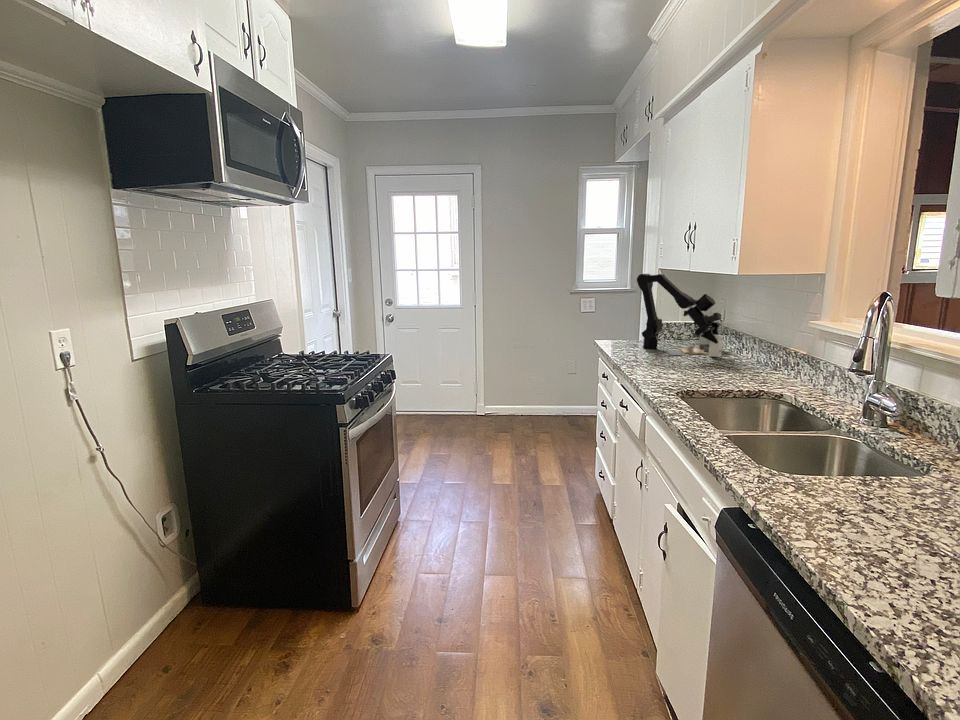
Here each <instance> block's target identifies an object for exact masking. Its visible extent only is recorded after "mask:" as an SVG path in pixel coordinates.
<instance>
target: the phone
mask: <svg viewBox="0 0 960 720" xmlns="http://www.w3.org/2000/svg"><path fill="white" fill-rule="evenodd" d="M665 352H666V354H667V355H668V356H669V357H670V356H671V357H683V353H682V352H681V350H669V349H667V350H665Z"/></svg>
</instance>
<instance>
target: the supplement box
mask: <svg viewBox="0 0 960 720" xmlns="http://www.w3.org/2000/svg"><path fill="white" fill-rule="evenodd" d="M721 331H722V325H720V326H719V328H718V333H719V335H721ZM702 333H703V332H702ZM702 333H701V334H700V336H699V339H698V348H700V344H710V340H708V339H706V338H704V337H701V335H703V334H702Z"/></svg>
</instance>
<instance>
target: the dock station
mask: <svg viewBox="0 0 960 720" xmlns="http://www.w3.org/2000/svg"><path fill="white" fill-rule="evenodd" d="M679 351H680V352H681V353H682V354H684V355H705V356H706V355H707V356H709V355H708V353H709V344H700V348H699V347H698V348H697V347H696V348H695V347H694V345H693V344H691V343H687V344H686V347H679ZM722 352H723V351H722ZM722 352H721V356H723V353H722Z"/></svg>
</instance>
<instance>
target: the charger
mask: <svg viewBox="0 0 960 720" xmlns="http://www.w3.org/2000/svg"><path fill="white" fill-rule="evenodd" d="M714 336H715V338H716V339H717V341H718V343H717V344H716V343H714V342H712V341H710V344H709V353H708V355H707V356H710V357H716V358H718V357H719V358H720V357H721V356H722V355H721V352H723V342H724V335H723V334H720V335H716V334H714Z"/></svg>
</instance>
